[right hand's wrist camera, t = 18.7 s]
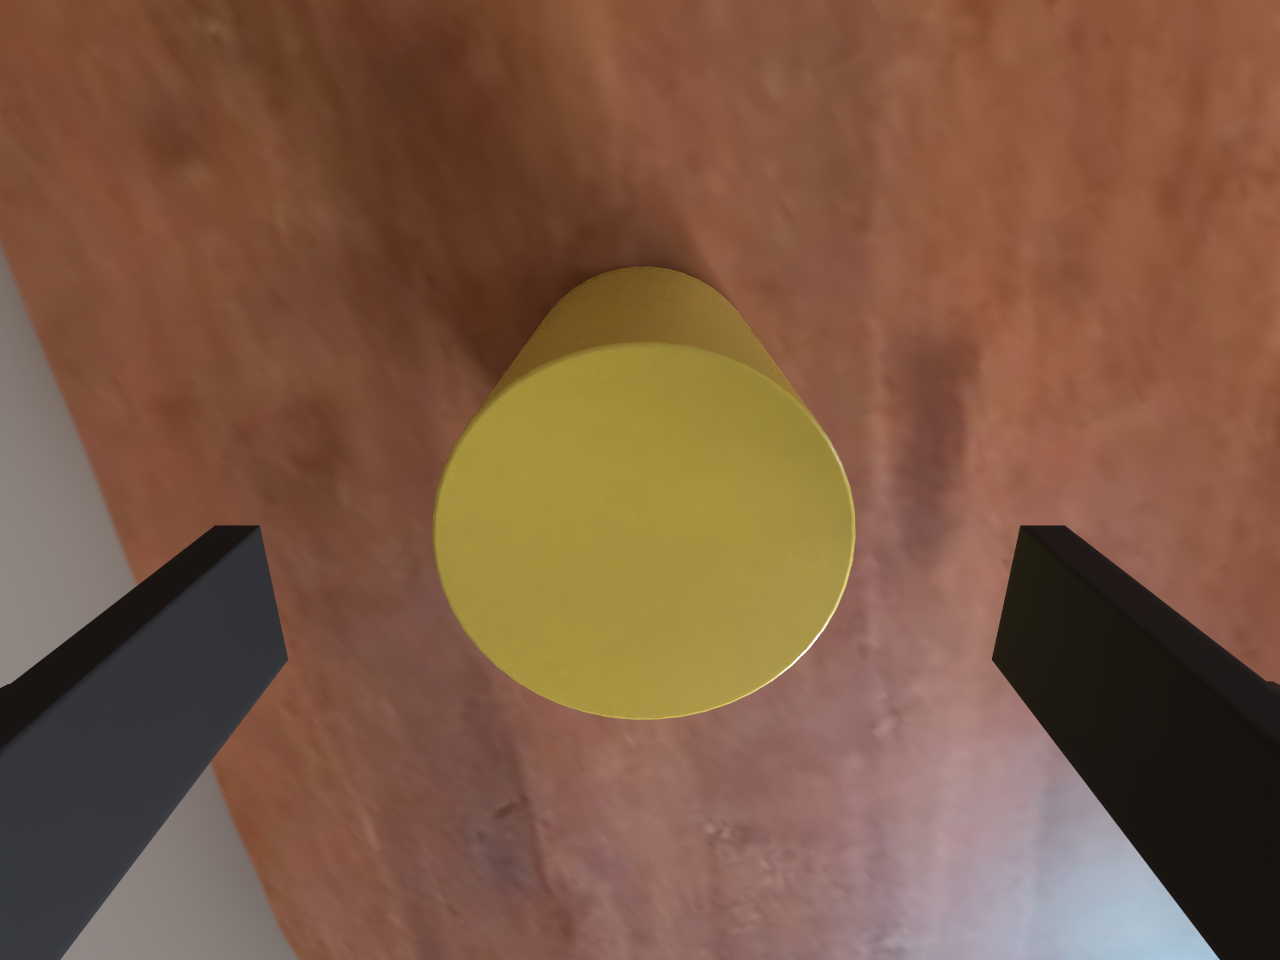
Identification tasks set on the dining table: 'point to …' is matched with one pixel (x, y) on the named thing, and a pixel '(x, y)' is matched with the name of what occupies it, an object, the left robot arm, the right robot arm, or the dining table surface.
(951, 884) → the dining table surface
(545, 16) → the dining table surface
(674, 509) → the cylinder
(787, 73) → the dining table surface
